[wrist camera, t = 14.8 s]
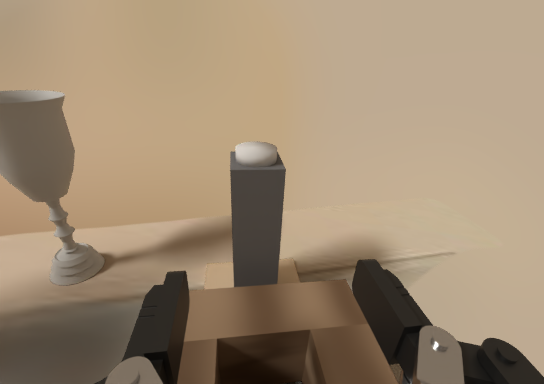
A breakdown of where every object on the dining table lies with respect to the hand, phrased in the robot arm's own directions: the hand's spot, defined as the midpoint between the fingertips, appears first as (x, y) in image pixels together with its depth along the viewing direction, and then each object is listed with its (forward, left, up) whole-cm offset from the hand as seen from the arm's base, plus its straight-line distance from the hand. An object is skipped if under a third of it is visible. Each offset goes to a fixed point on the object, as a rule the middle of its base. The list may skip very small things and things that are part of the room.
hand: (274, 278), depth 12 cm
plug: (0, +11, -12) cm, 16 cm away
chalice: (-19, +16, -13) cm, 28 cm away
